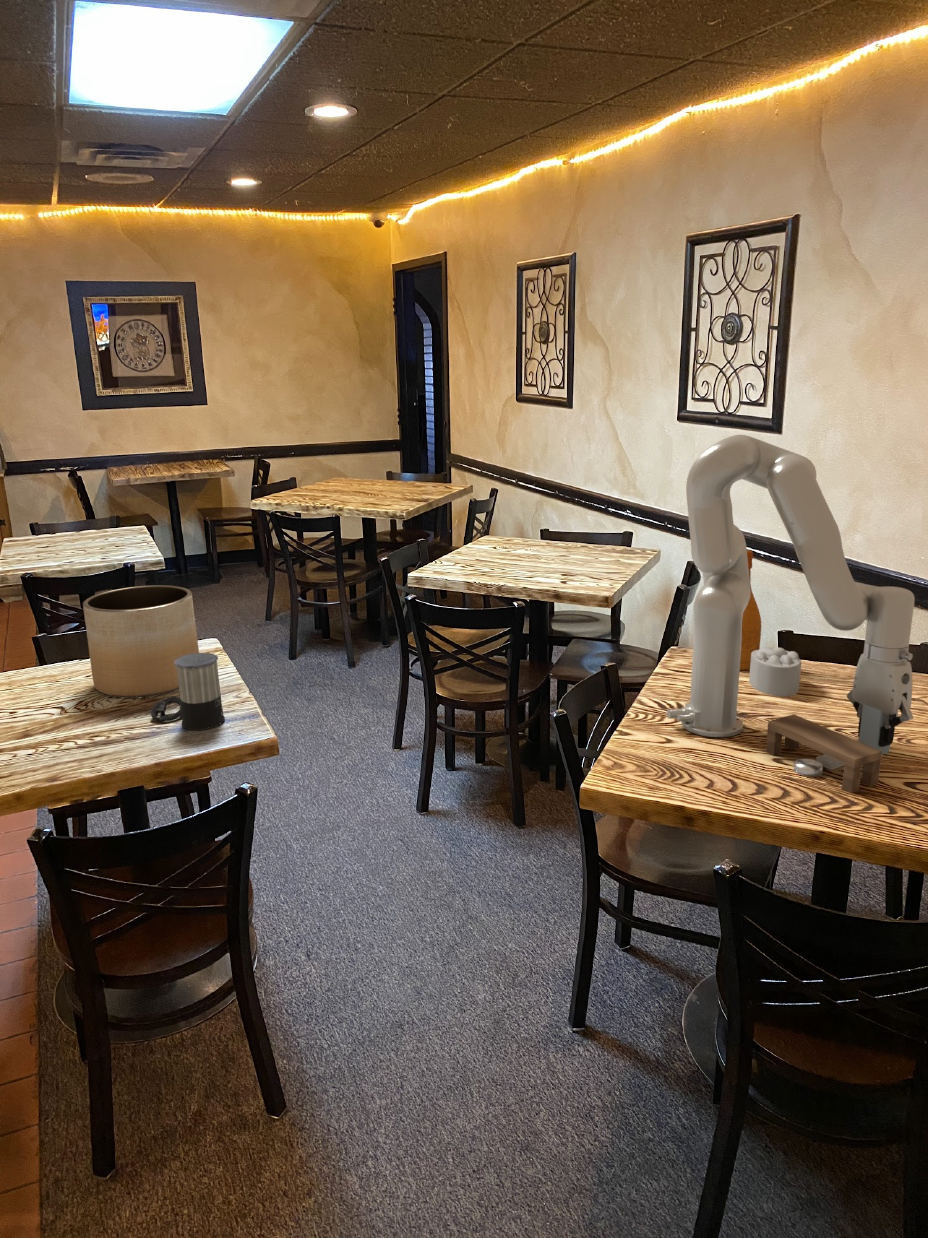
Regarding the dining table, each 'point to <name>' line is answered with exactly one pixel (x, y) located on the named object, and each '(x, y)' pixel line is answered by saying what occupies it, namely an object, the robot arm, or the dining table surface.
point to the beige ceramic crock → (139, 638)
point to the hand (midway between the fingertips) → (874, 739)
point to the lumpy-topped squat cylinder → (775, 671)
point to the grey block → (862, 735)
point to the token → (808, 767)
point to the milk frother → (195, 693)
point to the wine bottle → (750, 626)
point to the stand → (827, 748)
